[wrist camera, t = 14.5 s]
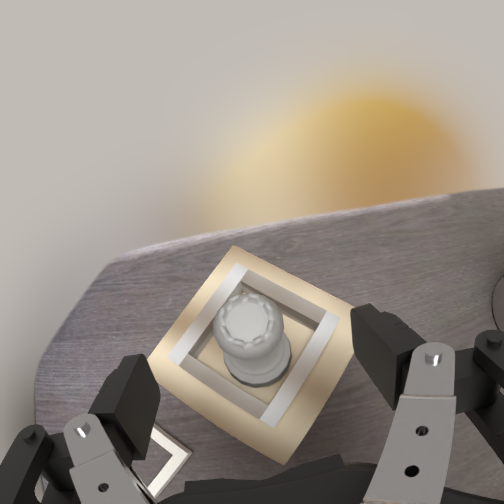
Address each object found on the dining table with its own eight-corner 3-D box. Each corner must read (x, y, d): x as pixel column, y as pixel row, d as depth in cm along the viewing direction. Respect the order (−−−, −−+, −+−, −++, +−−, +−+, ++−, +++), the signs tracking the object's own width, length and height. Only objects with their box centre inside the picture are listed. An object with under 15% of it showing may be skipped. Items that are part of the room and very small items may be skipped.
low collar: (125, 398, 26) (118, 396, 25) (192, 452, 23) (188, 453, 22) (85, 453, 23) (77, 454, 21) (146, 509, 20) (140, 512, 18)
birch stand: (244, 286, 31) (229, 230, 23) (349, 343, 27) (379, 305, 19) (175, 382, 27) (128, 362, 18) (283, 452, 22) (284, 470, 14)
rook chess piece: (303, 341, 20) (315, 296, 13) (272, 400, 18) (268, 388, 11) (245, 315, 21) (227, 258, 14) (213, 369, 19) (176, 338, 13)
